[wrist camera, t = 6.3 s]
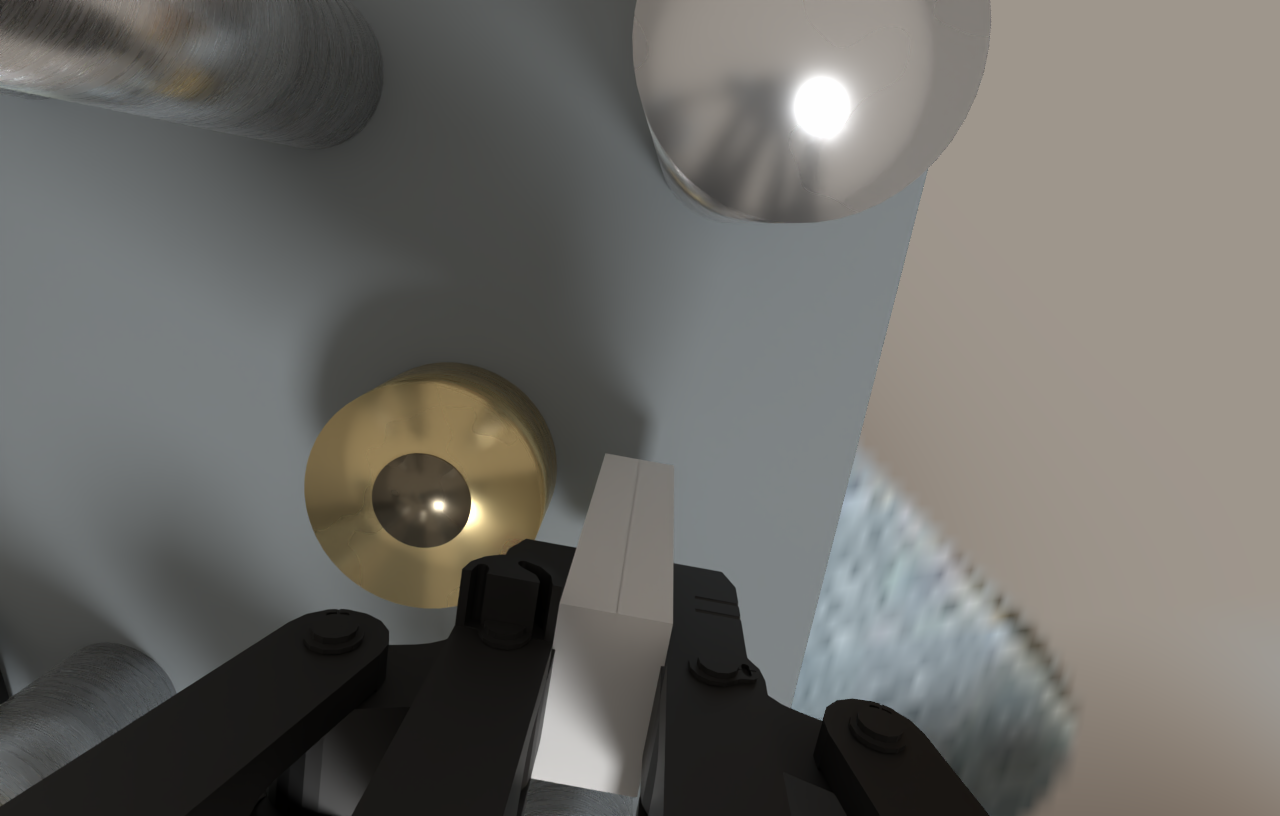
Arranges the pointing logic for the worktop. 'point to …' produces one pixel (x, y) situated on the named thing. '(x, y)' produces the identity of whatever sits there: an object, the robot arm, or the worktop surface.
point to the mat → (405, 338)
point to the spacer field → (348, 97)
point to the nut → (429, 480)
